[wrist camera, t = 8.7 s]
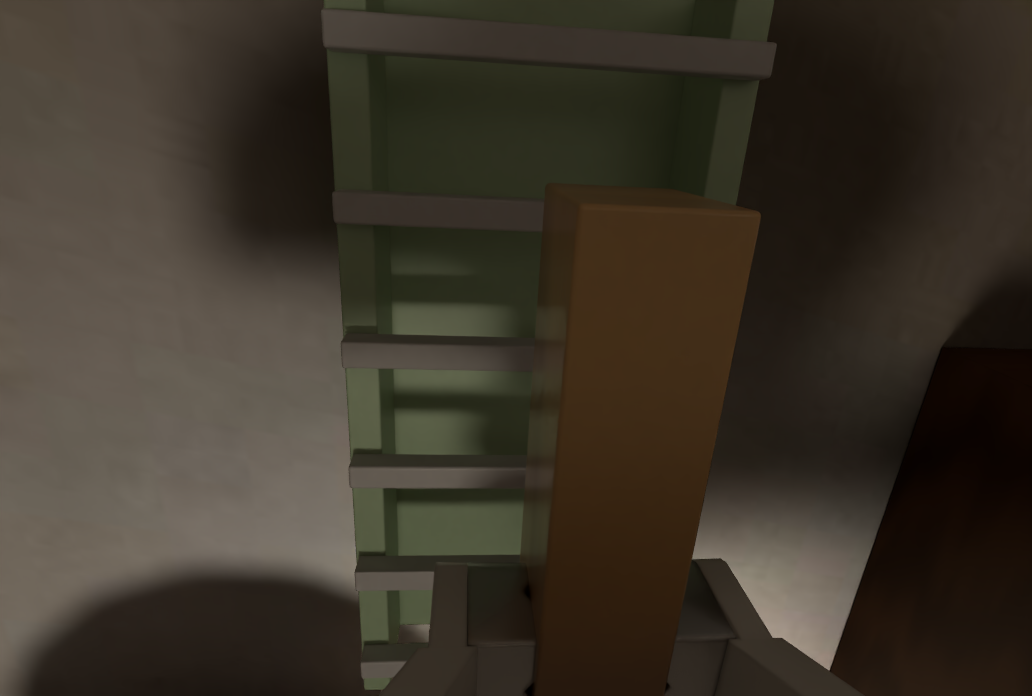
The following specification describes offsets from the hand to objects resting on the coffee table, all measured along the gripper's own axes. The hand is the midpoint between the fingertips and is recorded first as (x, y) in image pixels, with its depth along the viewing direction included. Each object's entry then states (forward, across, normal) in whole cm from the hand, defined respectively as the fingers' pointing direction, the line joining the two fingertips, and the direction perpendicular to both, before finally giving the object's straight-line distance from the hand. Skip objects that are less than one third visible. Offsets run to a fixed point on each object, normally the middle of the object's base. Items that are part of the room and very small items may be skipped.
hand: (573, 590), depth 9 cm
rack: (+12, 0, +1) cm, 12 cm away
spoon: (+1, 0, +1) cm, 1 cm away
